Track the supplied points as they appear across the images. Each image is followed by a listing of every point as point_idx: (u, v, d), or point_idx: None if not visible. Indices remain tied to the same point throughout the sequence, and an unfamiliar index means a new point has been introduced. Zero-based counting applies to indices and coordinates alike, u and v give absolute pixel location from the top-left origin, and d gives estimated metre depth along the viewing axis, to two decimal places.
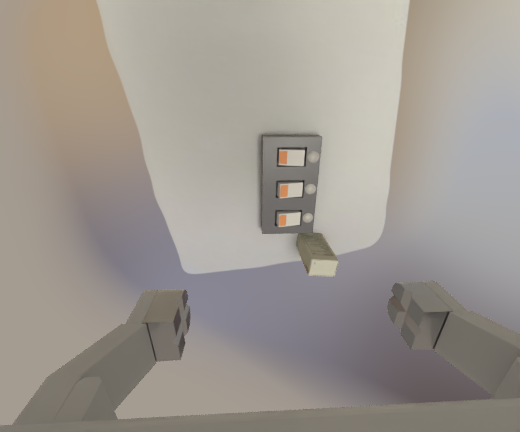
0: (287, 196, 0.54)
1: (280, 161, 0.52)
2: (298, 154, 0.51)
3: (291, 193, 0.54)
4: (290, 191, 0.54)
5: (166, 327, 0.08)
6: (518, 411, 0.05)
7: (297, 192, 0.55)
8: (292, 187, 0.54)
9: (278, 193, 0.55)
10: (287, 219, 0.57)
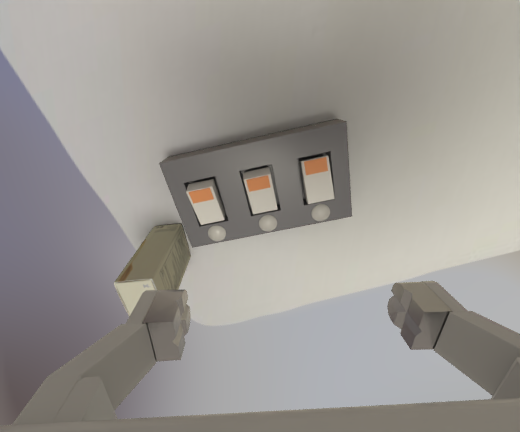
0: (249, 191, 0.30)
1: (308, 163, 0.29)
2: (326, 190, 0.30)
3: (255, 196, 0.30)
4: (259, 193, 0.30)
5: (166, 327, 0.08)
6: (518, 411, 0.05)
7: (259, 205, 0.31)
8: (267, 195, 0.31)
9: (250, 174, 0.30)
10: (205, 202, 0.31)
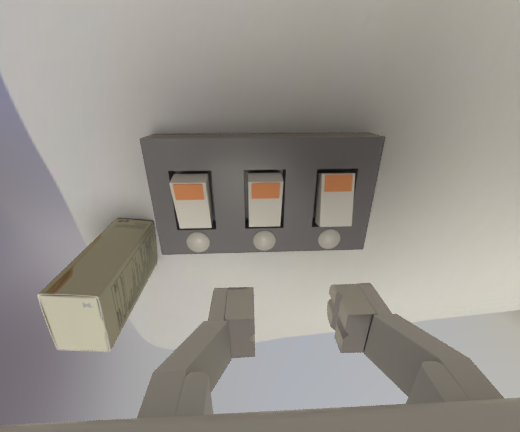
0: (251, 198, 0.23)
1: (330, 177, 0.24)
2: (344, 214, 0.25)
3: (257, 205, 0.24)
4: (263, 203, 0.24)
5: (246, 324, 0.08)
6: (518, 411, 0.05)
7: (259, 217, 0.25)
8: (271, 207, 0.24)
9: (256, 177, 0.23)
10: (191, 202, 0.23)
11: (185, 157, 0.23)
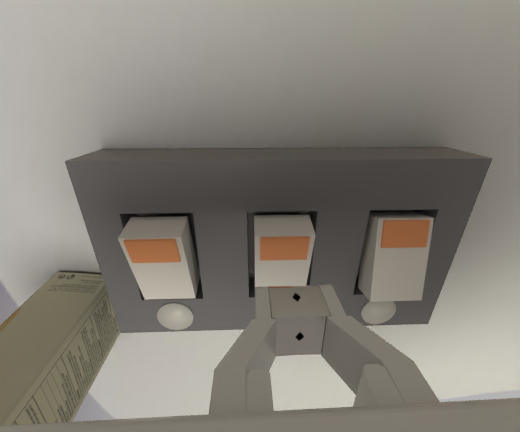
0: (260, 260, 0.14)
1: (393, 225, 0.14)
2: (410, 282, 0.15)
3: (269, 268, 0.15)
4: (279, 265, 0.14)
5: (293, 322, 0.08)
6: (518, 411, 0.05)
7: (271, 284, 0.15)
8: (293, 271, 0.15)
9: (269, 224, 0.14)
10: (159, 265, 0.14)
11: (147, 192, 0.13)
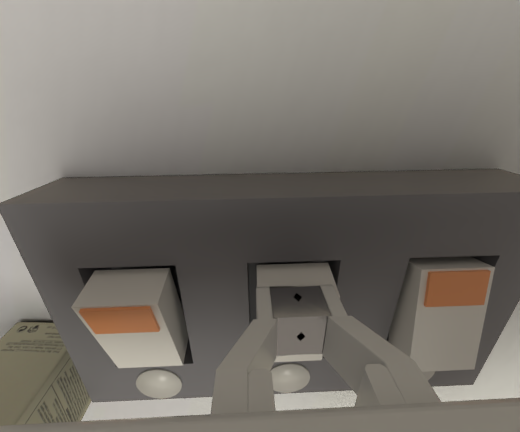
0: None
1: (441, 278, 0.11)
2: (461, 348, 0.12)
3: None
4: None
5: (294, 322, 0.08)
6: (518, 411, 0.05)
7: None
8: None
9: (276, 279, 0.10)
10: (132, 333, 0.11)
11: (113, 241, 0.10)
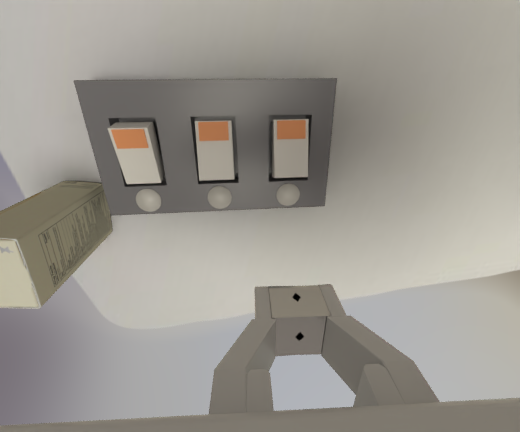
0: (199, 141, 0.22)
1: (282, 123, 0.22)
2: (299, 164, 0.23)
3: (206, 150, 0.23)
4: (212, 147, 0.23)
5: (293, 322, 0.08)
6: (517, 411, 0.05)
7: (209, 167, 0.23)
8: (222, 153, 0.23)
9: None
10: (135, 151, 0.22)
11: (125, 102, 0.21)
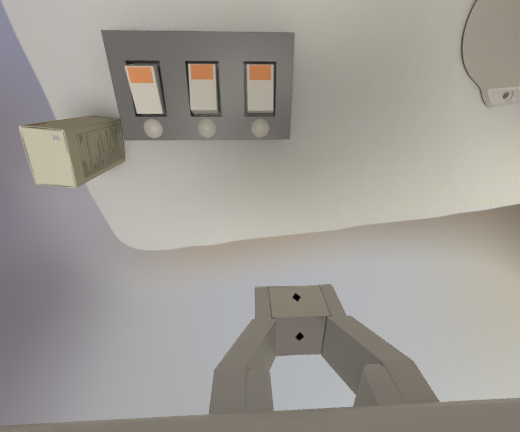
0: (191, 79, 0.30)
1: (253, 67, 0.30)
2: (266, 100, 0.31)
3: (196, 86, 0.30)
4: (201, 84, 0.30)
5: (293, 322, 0.08)
6: (518, 411, 0.05)
7: (198, 99, 0.30)
8: (208, 89, 0.30)
9: None
10: (143, 86, 0.30)
11: (137, 48, 0.29)
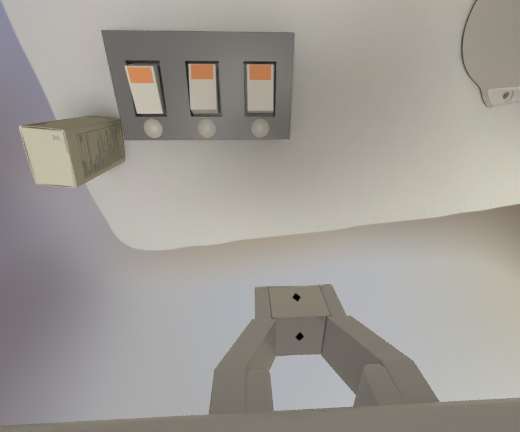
0: (191, 79, 0.30)
1: (253, 67, 0.30)
2: (266, 100, 0.31)
3: (196, 86, 0.30)
4: (201, 84, 0.30)
5: (293, 322, 0.08)
6: (518, 411, 0.05)
7: (198, 99, 0.30)
8: (208, 88, 0.30)
9: None
10: (143, 85, 0.30)
11: (137, 48, 0.29)
